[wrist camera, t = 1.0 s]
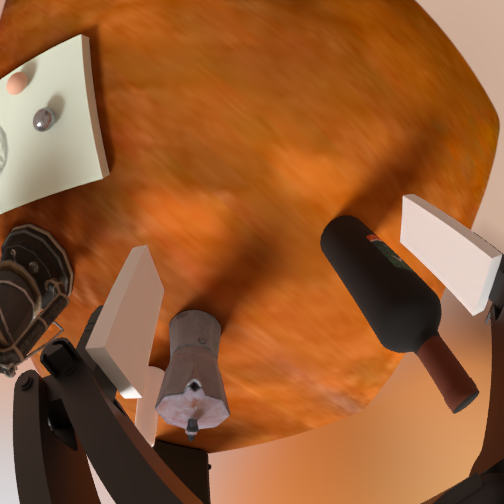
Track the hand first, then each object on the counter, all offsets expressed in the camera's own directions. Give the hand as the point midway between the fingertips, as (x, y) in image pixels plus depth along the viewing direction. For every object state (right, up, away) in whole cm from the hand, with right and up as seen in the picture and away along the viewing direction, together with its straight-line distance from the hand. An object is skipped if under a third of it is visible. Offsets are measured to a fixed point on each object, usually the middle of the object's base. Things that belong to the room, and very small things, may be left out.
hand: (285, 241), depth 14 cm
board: (-34, +16, +14) cm, 41 cm away
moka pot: (-11, -14, +33) cm, 38 cm away
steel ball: (-27, +16, +11) cm, 33 cm away
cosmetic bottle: (-22, -25, +38) cm, 50 cm away
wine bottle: (+12, +2, +28) cm, 31 cm away
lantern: (-38, -3, +24) cm, 45 cm away
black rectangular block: (-30, -72, +61) cm, 99 cm away
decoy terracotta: (-32, +21, +8) cm, 39 cm away
